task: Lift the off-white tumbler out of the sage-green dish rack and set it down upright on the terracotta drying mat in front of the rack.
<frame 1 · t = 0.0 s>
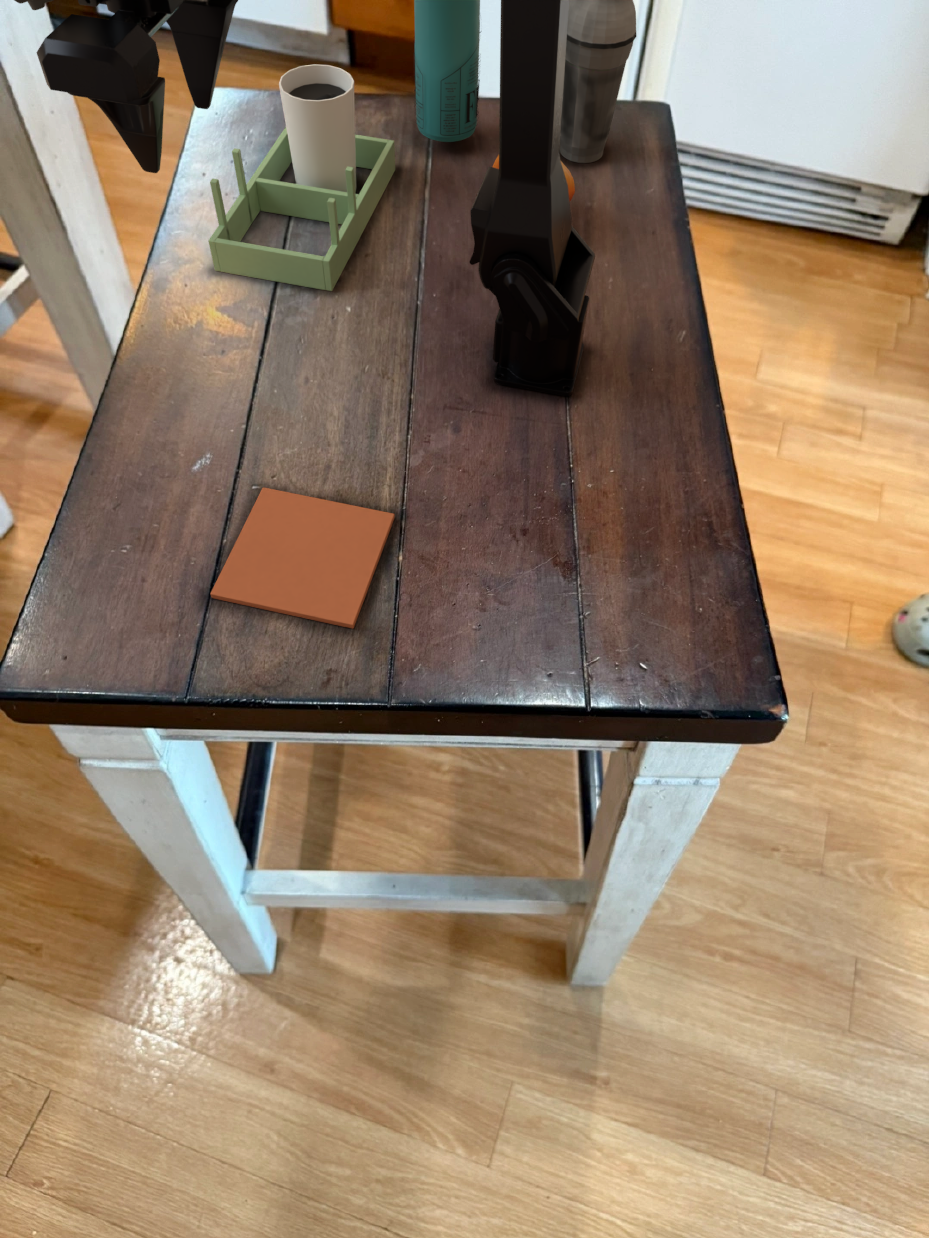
hand: (178, 138, 67), 15 cm above the table, tool pointing down, fingers open, 9 cm apart
beverage cup: (581, 153, 96), on the table
dish rack: (310, 217, 88), on the table
off-white tumbler: (327, 191, 90), resting in dish rack
beverage bottle: (445, 142, 96), on the table
drying mat: (306, 556, 64), on the table
fruit: (526, 224, 88), on the table
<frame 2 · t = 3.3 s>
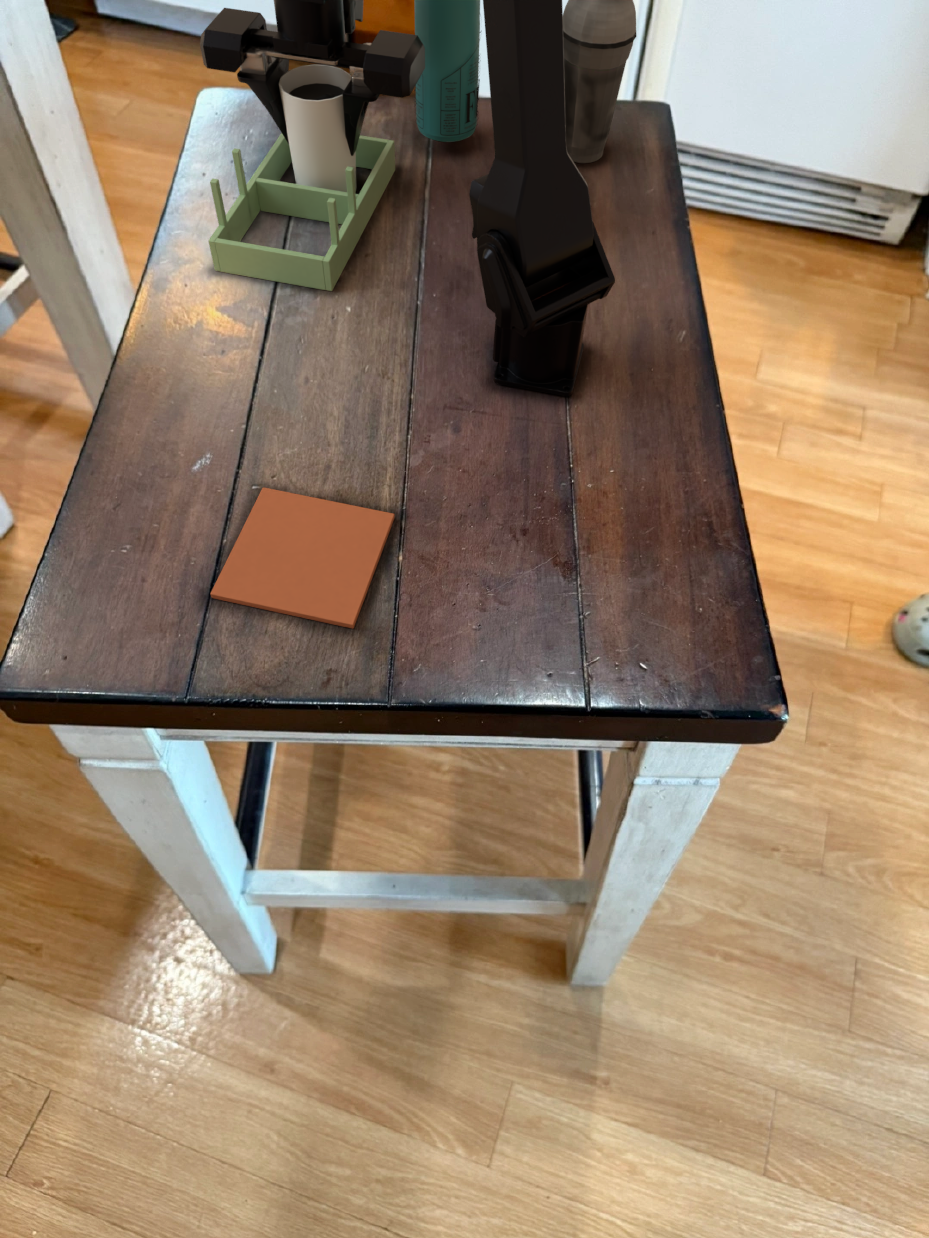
hand: (323, 149, 87), 4 cm above the table, tool pointing down, fingers closed on off-white tumbler, 5 cm apart
off-white tumbler: (327, 191, 90), resting in dish rack, touching gripper
everything else where it was.
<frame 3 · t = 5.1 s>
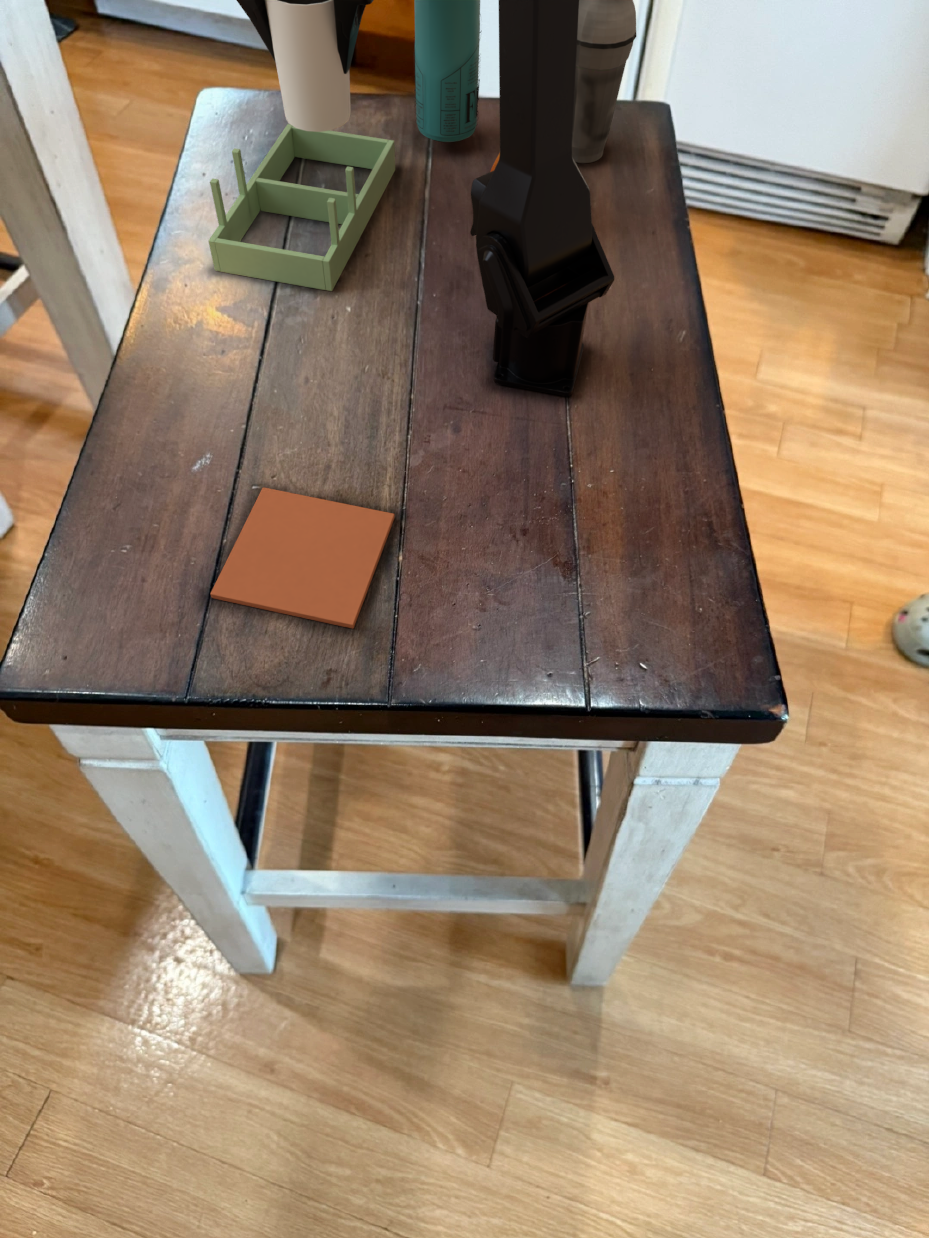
hand: (313, 67, 78), 13 cm above the table, tool pointing down, fingers closed on off-white tumbler, 5 cm apart
off-white tumbler: (318, 117, 82), point 8 cm above the table, touching gripper
everything else where it was.
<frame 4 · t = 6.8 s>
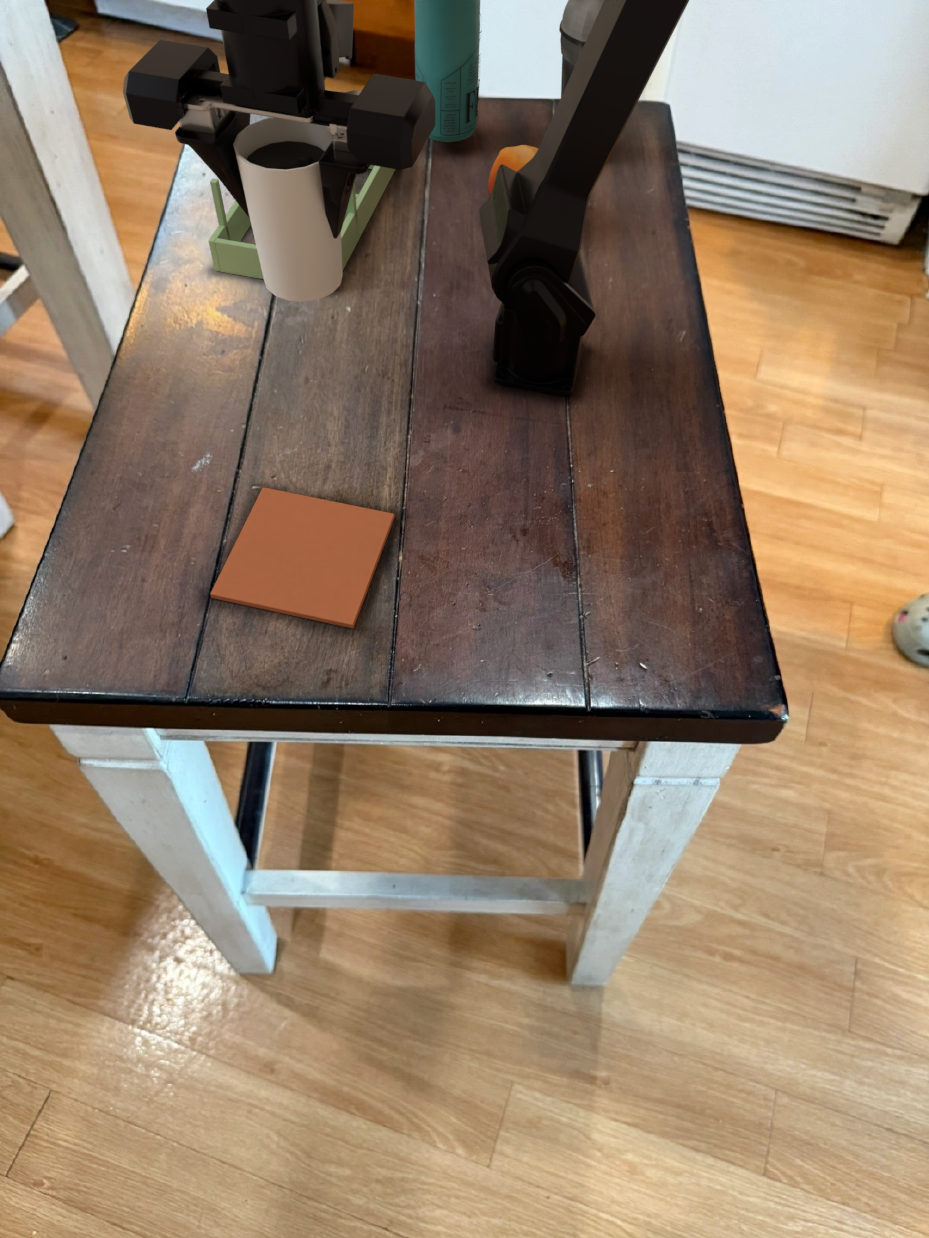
hand: (297, 227, 65), 13 cm above the table, tool pointing down, fingers closed on off-white tumbler, 5 cm apart
off-white tumbler: (303, 279, 68), point 9 cm above the table, touching gripper
everything else where it was.
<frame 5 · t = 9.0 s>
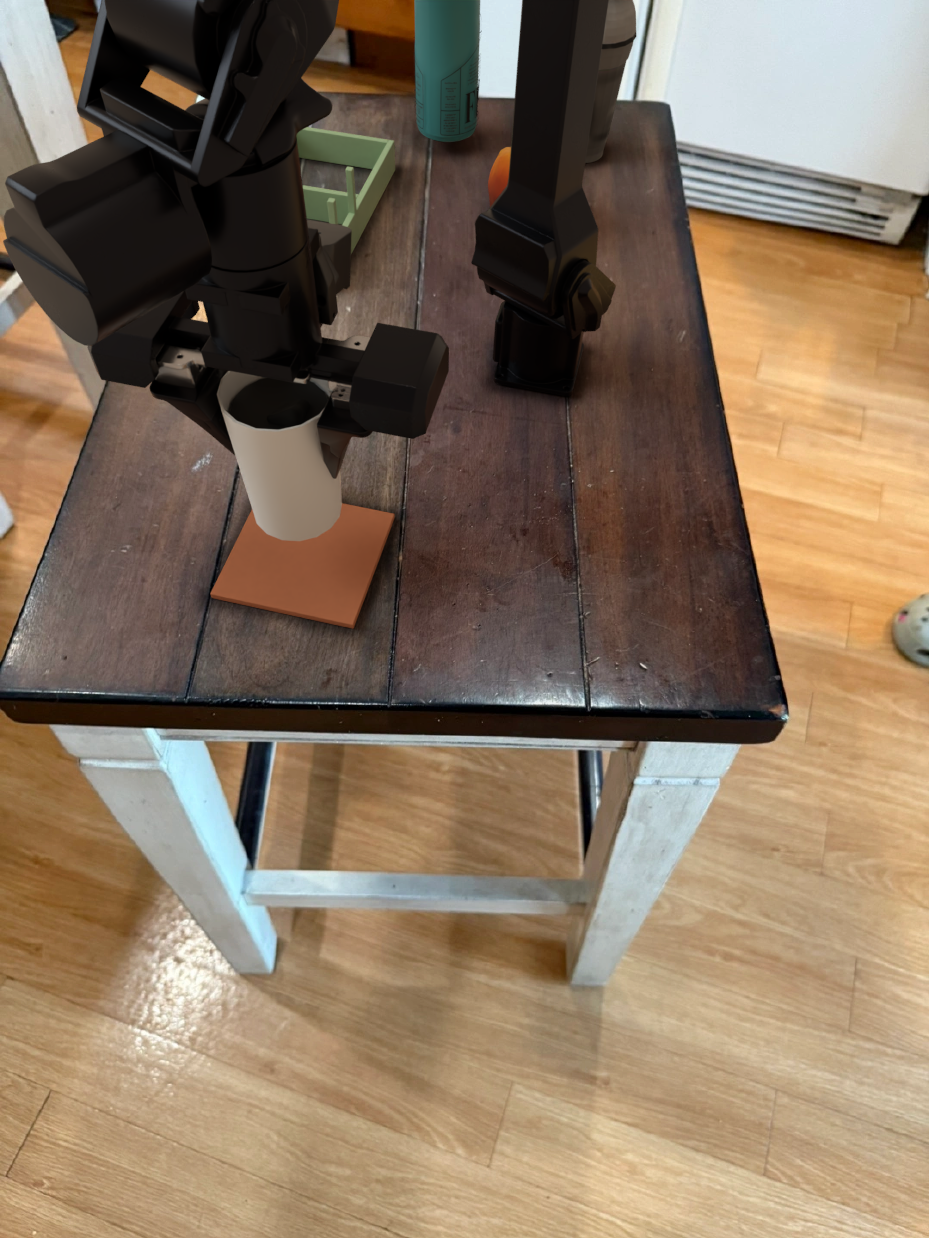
hand: (291, 464, 57), 9 cm above the table, tool pointing down, fingers closed on off-white tumbler, 5 cm apart
off-white tumbler: (298, 509, 60), point 5 cm above the table, touching gripper
everything else where it was.
when the fingers open (4 cm above the table, at t = 10.6 s): off-white tumbler stays where it is, resting on drying mat.
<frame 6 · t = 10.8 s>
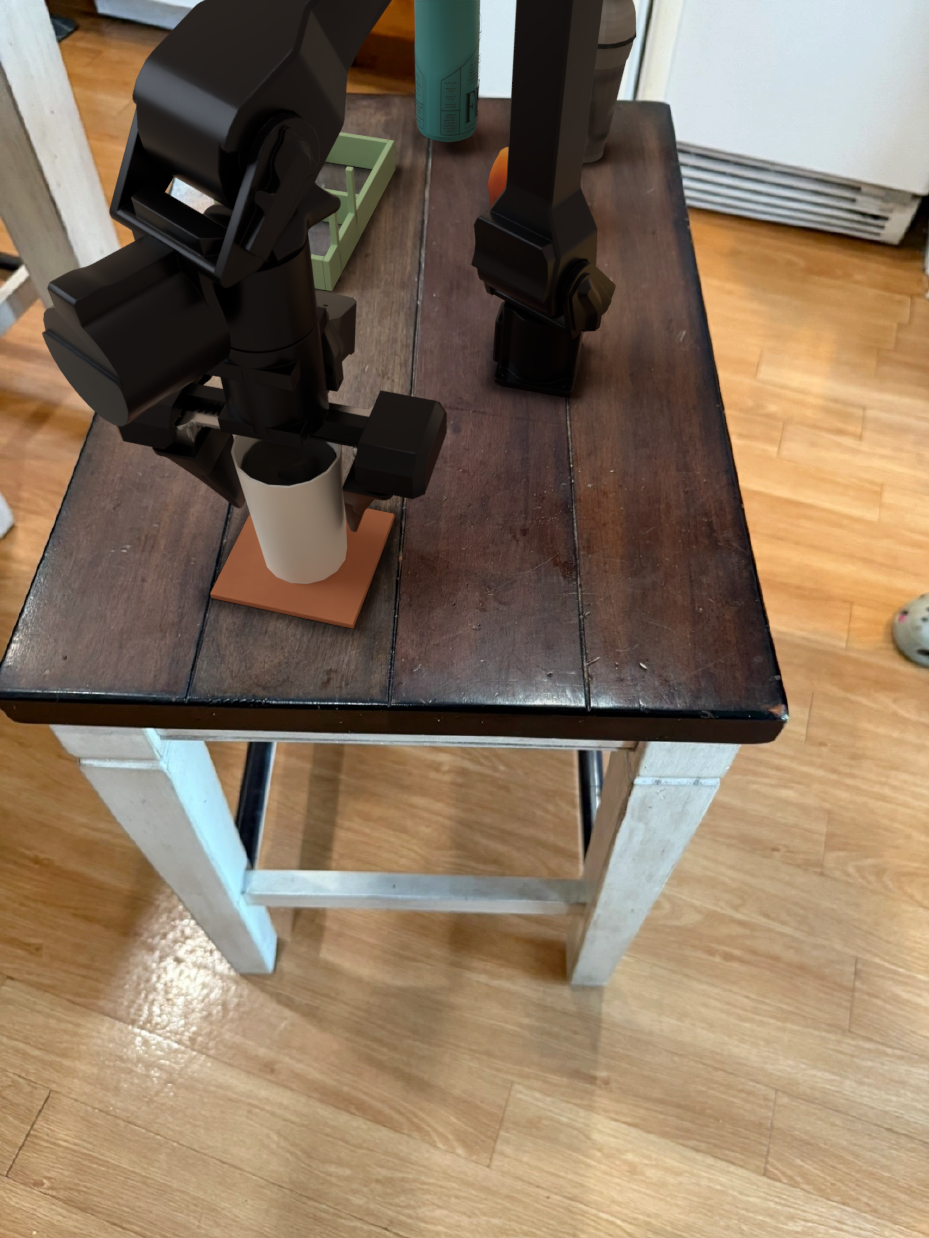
hand: (298, 514, 61), 4 cm above the table, tool pointing down, fingers open, 8 cm apart
off-white tumbler: (305, 552, 64), resting on drying mat
everything else where it was.
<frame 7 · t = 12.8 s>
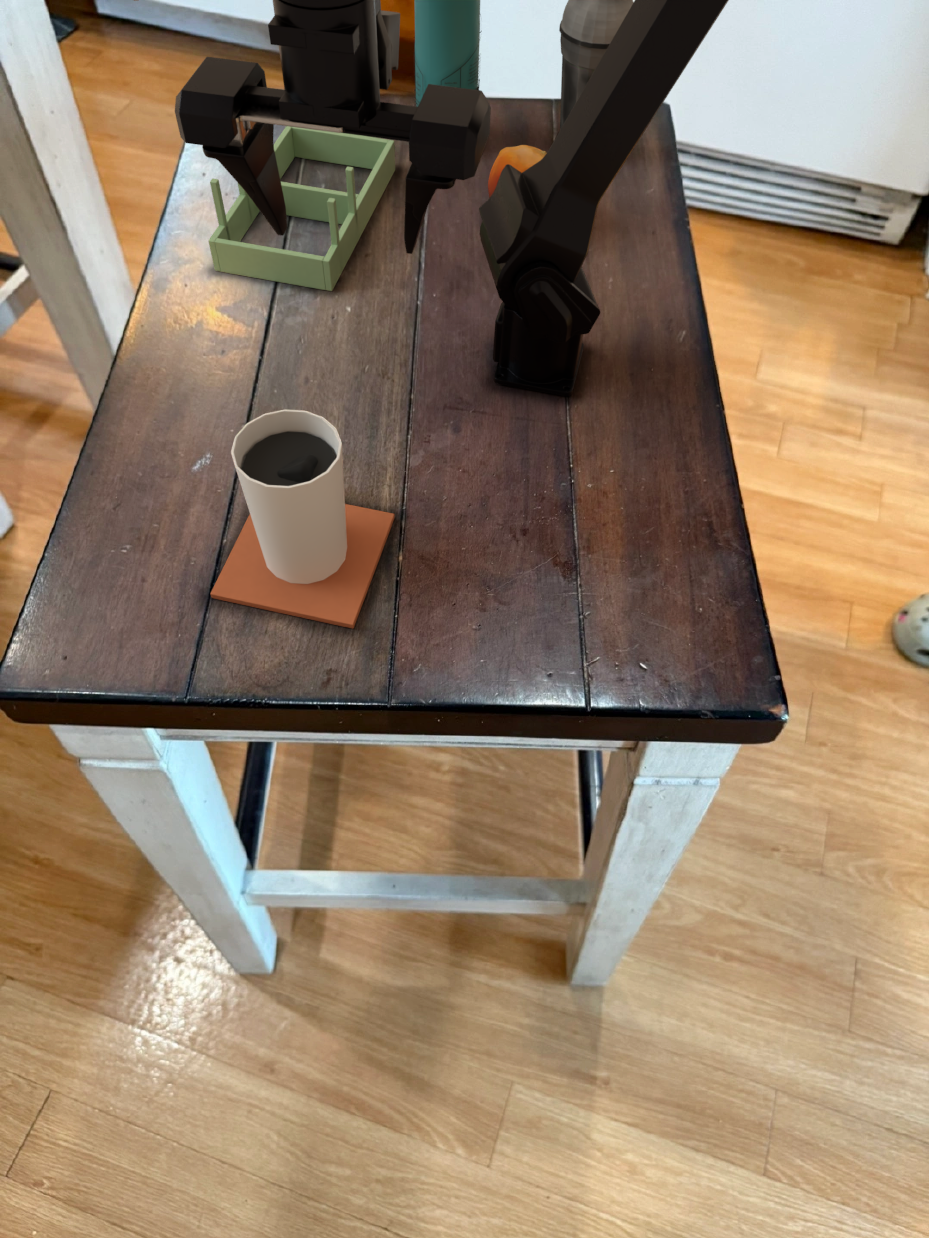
hand: (346, 241, 64), 13 cm above the table, tool pointing down, fingers open, 9 cm apart
nothing on the table moved.
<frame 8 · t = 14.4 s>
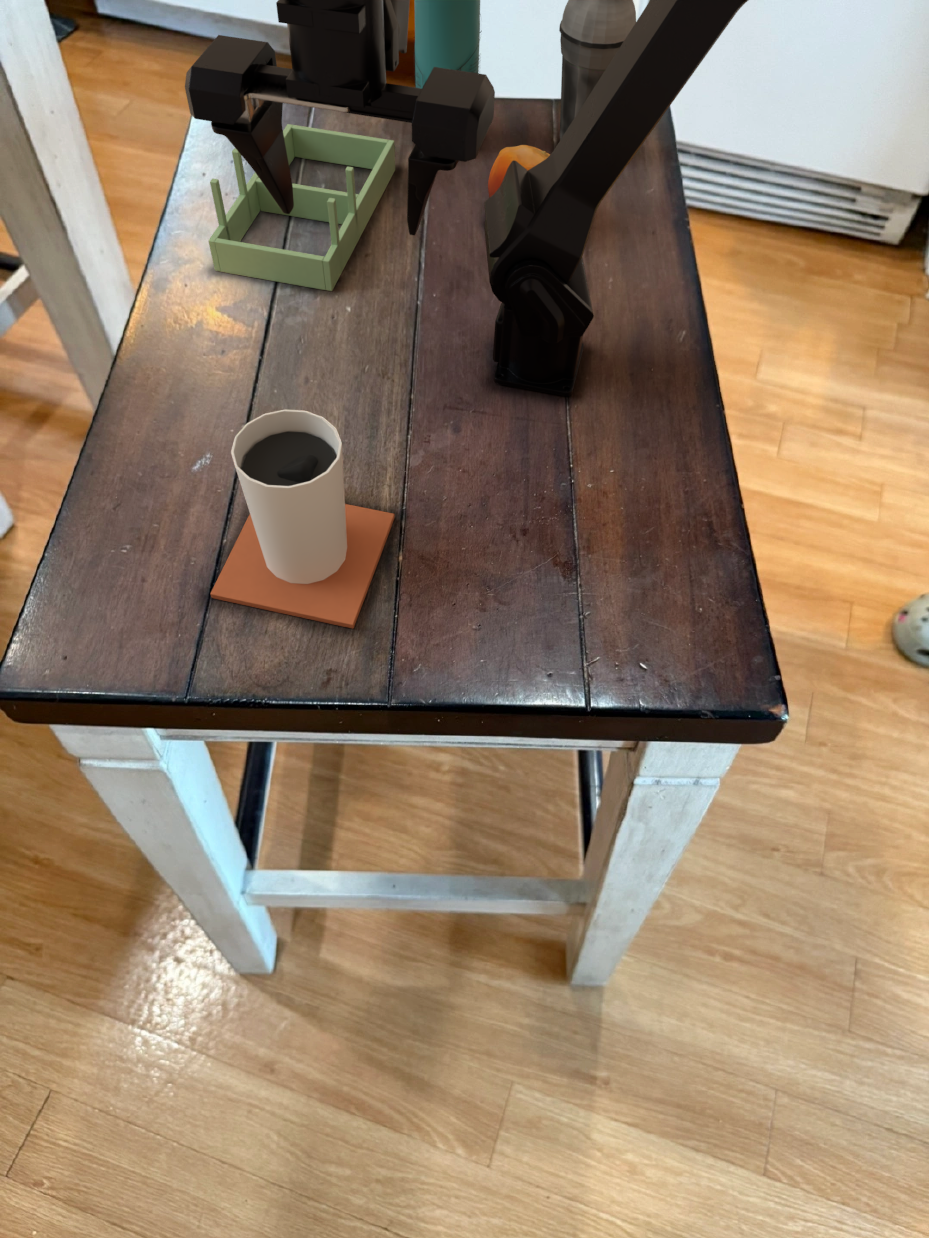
hand: (351, 221, 65), 13 cm above the table, tool pointing down, fingers open, 9 cm apart
nothing on the table moved.
at the end: off-white tumbler inside the target area on the drying mat (0.1 cm from its centre), point 0.3 cm above the drying mat's base; off-white tumbler tilted 0°; the gripper is holding nothing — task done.
